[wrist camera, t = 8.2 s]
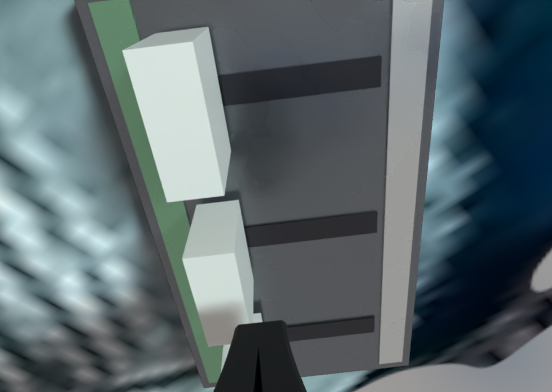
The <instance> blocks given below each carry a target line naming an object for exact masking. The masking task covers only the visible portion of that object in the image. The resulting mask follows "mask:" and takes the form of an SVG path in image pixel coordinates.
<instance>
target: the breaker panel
mask: <svg viewBox="0 0 552 392" xmlns="http://www.w3.org/2000/svg"><path fill="white" fill-rule="evenodd" d="M74 1H75V4H76V7H77V10H78V13H79V16H80V19H81V22H82V25H83V28H84V31H85V34H86V37H87V40H88V43H89V46H90V49H91V52H92V55H93V58H94V61H95V64H96V67H97V70H98V73H99V76H100V79H101V82H102V85H103V88H104V91H105V94H106V97H107V100H108V103H109V106H110V109H111V112H112V115H113V118H114V121H115V124H116V127H117V130H118V133H119V136H120V139H121V142H122V145H123V148H124V151H125V154H126V157H127V160H128V163H129V166H130V169H131V172H132V175H133V178H134V181H135V184H136V187H137V190H138V193H139V196H140V199H141V202H142V205H143V208H144V211H145V214H146V217H147V220H148V223H149V226H150V229H151V232H152V235H153V238H154V241H155V244H156V247H157V250H158V253H159V256H160V259H161V262H162V265H163V268H164V270H165V273H166V276H167V279H168V282H169V285H170V288H171V291H172V294H173V297H174V300H175V303H176V306H177V309H178V312H179V315H180V318H181V321H182V324H183V327H184V330H185V333H186V336H187V339H188V342H189V345H190V348H191V351H192V354H193V357H194V360H195V363H196V366H197V369H198V372H199V375H200V378H201V381H202V384H203V387H204V388H209V387H216V384H217V382H218V379H219V377H220V374H221V366H222V355H223V345H220V346H211V347H208V344H207V341H206V338H205V334H204V331H203V327H202V324H201V321H200V317H199V314H198V311H197V307H196V304H195V301H194V297H193V294H192V291H191V287H190V284H189V281H188V277H187V274H186V270H185V267H184V264H183V260H182V257H183V254H184V250H185V246H186V242H187V239H188V235H189V231H190V227H191V224H192V220H193V216H194V212H195V209H196V205H199V204H208V203H216V202H224V201H233V200H239V204H240V210H241V215H242V220H243V226H244V231H245V237H246V242H247V247H248V253H249V258H250V264H251V269H252V274H253V280H254V284H253V314H256V313H261V317H262V322H267V321H276V320H283V321H284V322H286V327H287V334H288V339H289V343H290V347H291V350H292V354H293V357H294V360H295V363H296V366H297V368H298V371H299V374H300V376H301V377H307V376H316V375H325V374H334V373H343V372H352V371H361V370H370V369H379V368H388V367H397V366H406V365H409V355H410V344H411V334H412V324H413V314H414V303H415V293H416V283H417V273H418V263H419V252H420V242H421V232H422V222H423V212H424V201H425V191H426V181H427V171H428V160H429V150H430V140H431V130H432V120H433V109H434V99H435V89H436V79H437V68H438V58H439V48H440V38H441V28H442V17H443V7H444V0H74ZM202 27H209V33H210V38H211V44H212V49H213V55H214V60H215V65H216V71H217V76H218V82H219V87H220V93H221V98H222V104H223V109H224V115H225V120H226V126H227V131H228V136H229V142H230V147H231V155H230V161H229V168H228V175H227V181H226V188H225V195H224V196H217V197H209V198H200V199H192V200H183V201H175V202H167V200H166V197H165V194H164V190H163V187H162V183H161V180H160V177H159V173H158V170H157V166H156V163H155V160H154V156H153V153H152V150H151V146H150V143H149V139H148V136H147V133H146V129H145V126H144V123H143V119H142V116H141V112H140V109H139V106H138V102H137V99H136V95H135V92H134V89H133V85H132V82H131V79H130V75H129V72H128V68H127V65H126V62H125V58H124V55H123V51H122V50H124V49H126V48H128V47H130V46H132V45H134V44H136V43H138V42H139V41H141V40H143V39H145V38H147V37H149V36H151V35H153V34H155V33H162V32H170V31H178V30H186V29H194V28H202Z"/></svg>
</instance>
